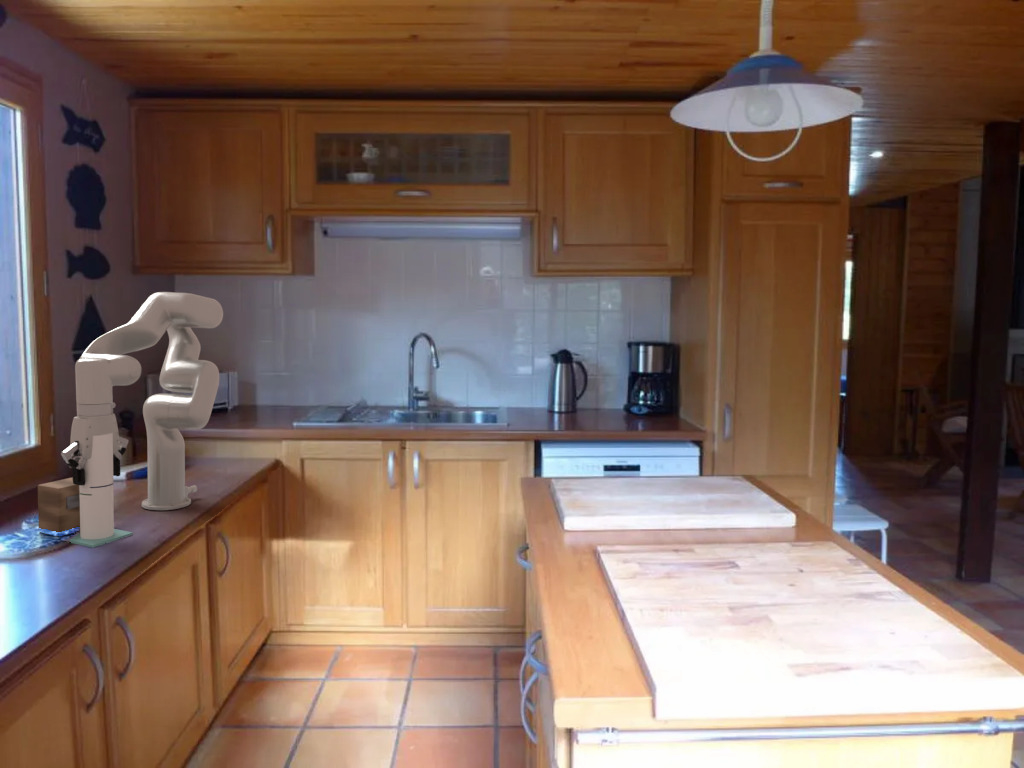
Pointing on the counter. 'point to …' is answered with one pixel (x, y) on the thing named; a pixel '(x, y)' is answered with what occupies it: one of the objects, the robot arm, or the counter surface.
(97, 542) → the teal pad
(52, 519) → the walnut housing
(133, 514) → the counter surface
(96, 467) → the cylindrical container
